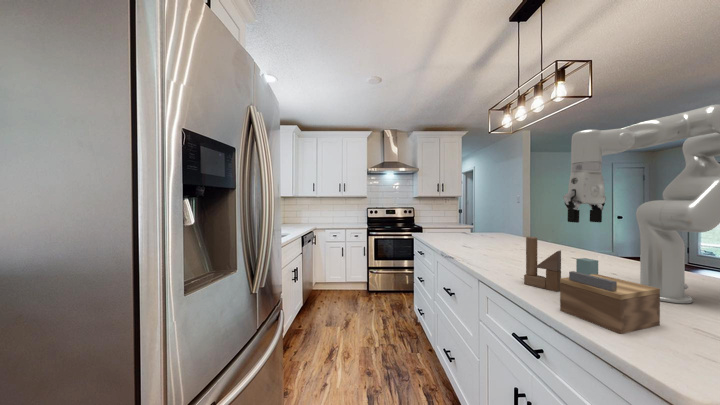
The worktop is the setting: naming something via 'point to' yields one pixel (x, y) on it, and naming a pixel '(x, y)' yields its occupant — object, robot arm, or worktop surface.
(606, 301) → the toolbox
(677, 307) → the worktop surface
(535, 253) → the wooden block structure
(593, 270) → the teal rectangular block
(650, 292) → the lid
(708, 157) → the robot arm
